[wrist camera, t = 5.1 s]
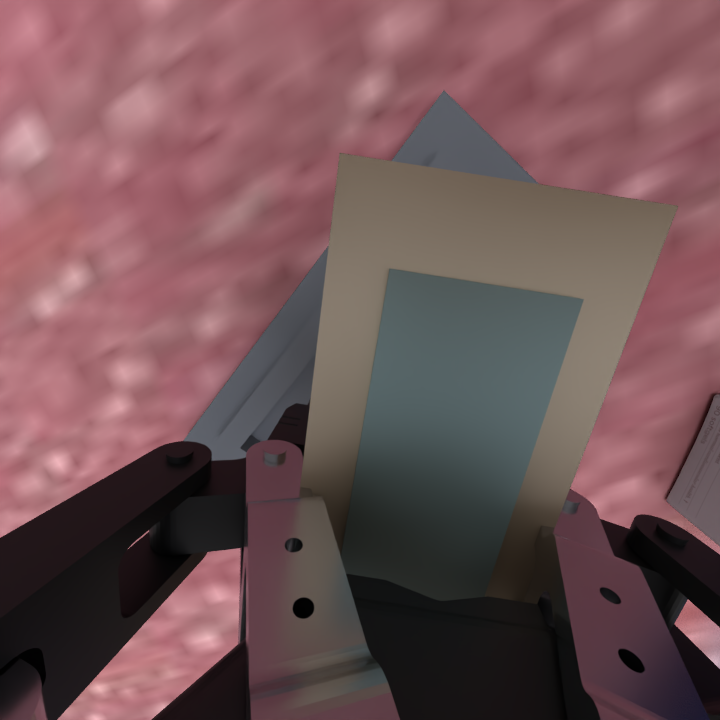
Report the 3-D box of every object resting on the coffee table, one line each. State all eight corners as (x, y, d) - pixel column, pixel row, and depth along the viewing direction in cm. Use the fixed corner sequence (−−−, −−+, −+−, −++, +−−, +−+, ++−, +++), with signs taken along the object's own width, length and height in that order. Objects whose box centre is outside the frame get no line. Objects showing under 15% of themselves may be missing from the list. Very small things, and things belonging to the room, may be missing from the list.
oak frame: (359, 209, 11) (337, 148, 5) (517, 234, 11) (690, 203, 5) (311, 559, 15) (266, 761, 9) (426, 577, 15) (459, 793, 9)
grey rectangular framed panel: (438, 102, 16) (451, 71, 13) (614, 274, 17) (655, 276, 15) (190, 434, 21) (165, 459, 18) (345, 540, 23) (341, 576, 20)
